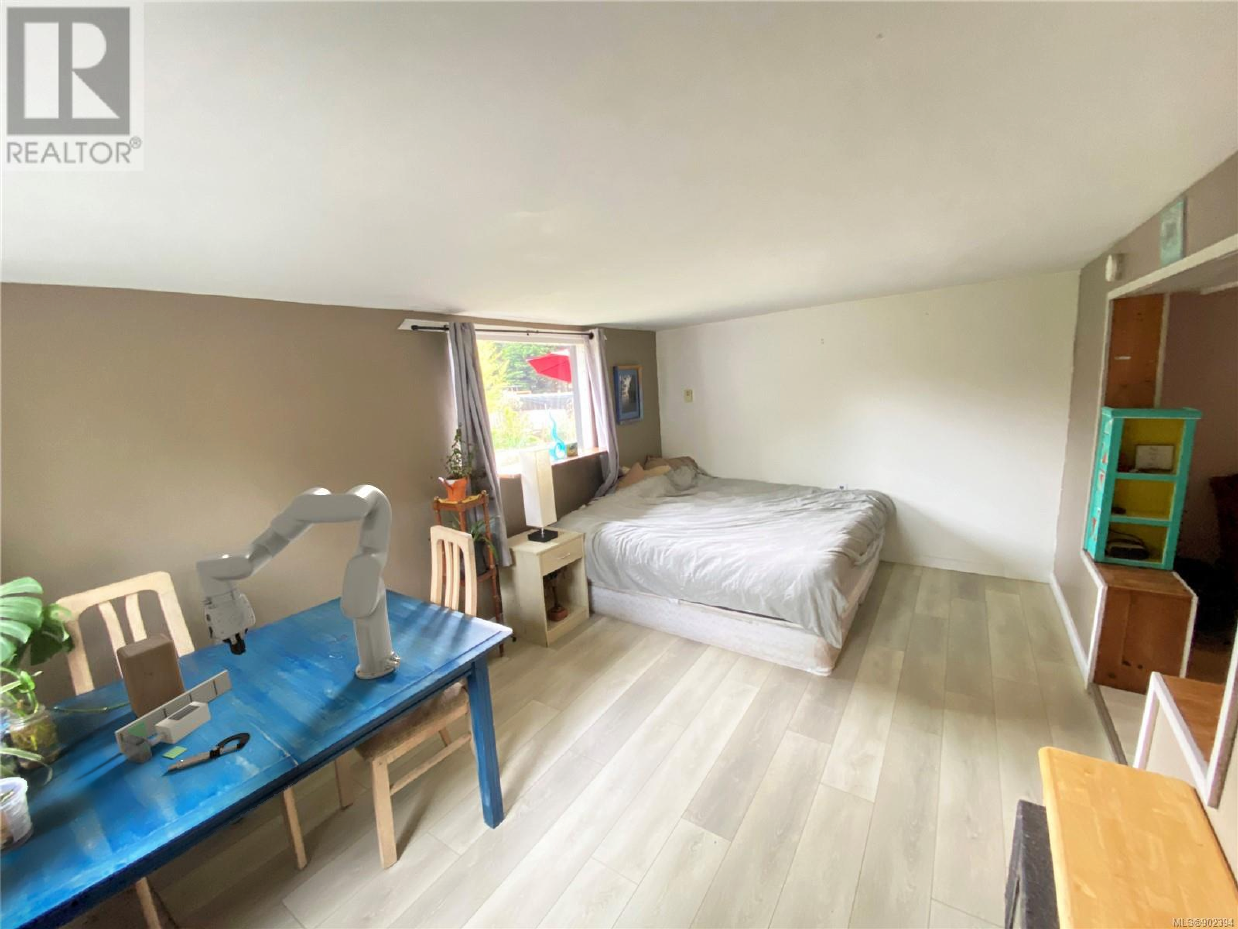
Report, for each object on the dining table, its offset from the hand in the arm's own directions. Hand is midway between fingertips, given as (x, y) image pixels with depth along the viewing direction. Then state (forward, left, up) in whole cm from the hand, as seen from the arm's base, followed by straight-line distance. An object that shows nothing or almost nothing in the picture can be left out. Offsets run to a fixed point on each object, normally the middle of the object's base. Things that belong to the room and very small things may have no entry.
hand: (239, 653), depth 134 cm
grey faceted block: (+1, +25, -13) cm, 28 cm away
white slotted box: (+1, +17, -13) cm, 22 cm away
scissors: (-15, +19, -14) cm, 28 cm away
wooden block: (+20, +11, -13) cm, 26 cm away
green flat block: (-6, +22, -13) cm, 26 cm away
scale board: (+8, +12, -13) cm, 20 cm away
